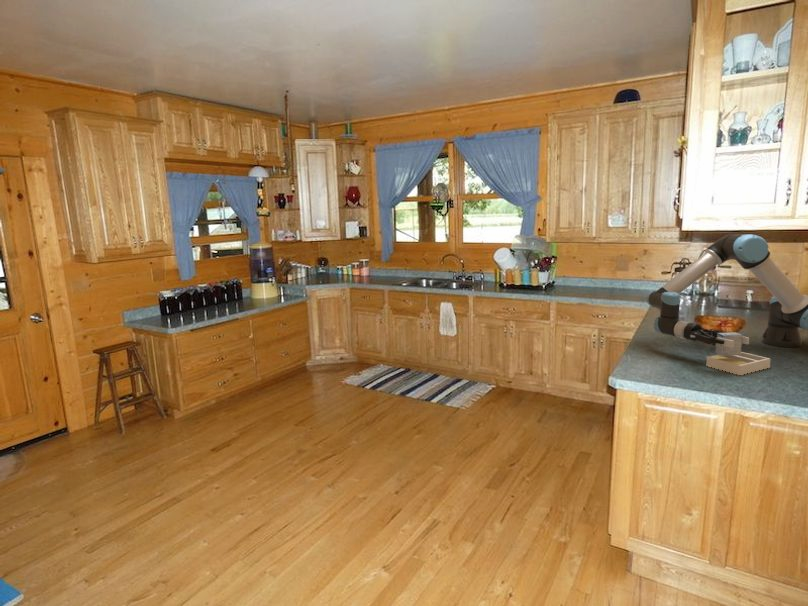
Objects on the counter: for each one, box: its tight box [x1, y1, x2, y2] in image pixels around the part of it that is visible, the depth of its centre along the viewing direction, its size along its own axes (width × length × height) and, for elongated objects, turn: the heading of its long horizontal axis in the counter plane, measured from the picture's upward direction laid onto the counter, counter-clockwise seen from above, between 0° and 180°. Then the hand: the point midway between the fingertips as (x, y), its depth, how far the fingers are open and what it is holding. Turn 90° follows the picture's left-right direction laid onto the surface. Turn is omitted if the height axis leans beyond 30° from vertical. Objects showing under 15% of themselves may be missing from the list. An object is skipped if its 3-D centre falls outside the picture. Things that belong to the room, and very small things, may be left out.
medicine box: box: [714, 331, 744, 356], centre depth 200 cm, size 8×4×9 cm, turn 92°
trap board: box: [705, 351, 771, 376], centre depth 204 cm, size 19×14×4 cm
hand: (740, 342), depth 195 cm, fingers closed on medicine box, 9 cm apart
